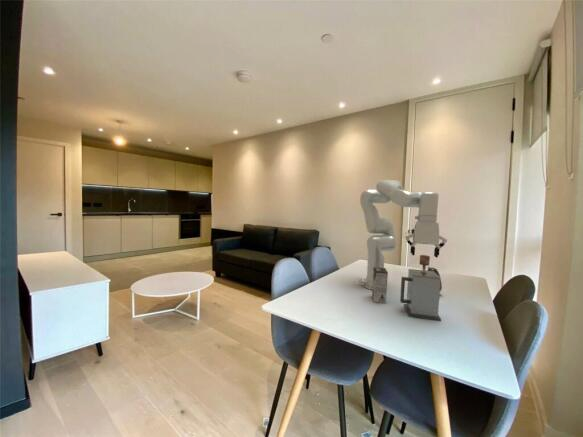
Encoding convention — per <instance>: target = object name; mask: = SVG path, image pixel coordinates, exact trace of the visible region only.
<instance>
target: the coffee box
mask: <svg viewBox="0 0 583 437" xmlns="http://www.w3.org/2000/svg"><path fill="white" fill-rule="evenodd" d="M388 276H389V274H388V271H387V268H385V267H384V268H375V267H374V268H373V287H372V290H371V292H372V293H371V297H372V301H373V303H381V304H386V303H387V290H388V278H389V277H388Z"/></svg>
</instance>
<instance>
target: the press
mask: <svg viewBox="0 0 583 437" xmlns="http://www.w3.org/2000/svg"><path fill="white" fill-rule="evenodd" d="M422 270H423V269H415V268H414V269H413V268H408V272H407V274H408V275H407V276H401V282H400V298H399V299H400V300H399V302H400V303H401V304H403V308H404V309H405V311H406V314H407V316H408V318H413V319H414V318H415V319H421V320H422V319H423V320H430V321H437V322H438V321H439V322H441V321H442V319H441V317H440V315H439V306H440V293H441V292H440V280H441V281H442V279H441V276H440V277H439V276H438V275H437V274H436V273H435V272H434V271H427V270H426V269H425V274H422ZM406 282H407V291H406V298H405V289H406V288H405V286H406V285H405V284H406Z"/></svg>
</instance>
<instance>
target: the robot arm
mask: <svg viewBox="0 0 583 437" xmlns="http://www.w3.org/2000/svg"><path fill="white" fill-rule="evenodd" d="M390 201H391V202H392V203H394V204H395V205H397V206H399V207H403V208H418V213H417V215H414V219H415V220H416V221H415V224H414V229H413V233H411V234H409V235H405V237H404V238H405V240H406V242H407V243H408V244H409V246H410V254H411V256H415V252H416V247H415V246H416V245H417V244H420V245H431V246H432V245H434V246H435V247H434V253H433V257H434V258H438V257H439V256H440V251H441V250H440V249H441V248H442V247H444V246H445V244H446V243H447V242H448V239H447V238H445V237H443V236H441V235H440V226H439V222H437V220H438V206H439V193H438V192H436V191H433V192H432V191H408V190H405V187H404V186H403V185H402V183H401V182H400V181H399V180H393V179H381V180H379V181H378V182H377V183H376V186H375V189H373V188H369V189H365V190H363V191H362V192H361V193H360V197H359V203H360V206H361V209H362V211H363V214H364V221H365V225H366V226H365V227H366V229H367V232H368V233H369V234H372V235H371V236H369V237H367V240H366V247H367V248H366V249H367V266H366V268H367V269H366V270H367V271H366V278H364V279H362V278H359V279H358V282H359V283H361V284H363V286H364V287H363V288H366V289H369V290H371V291H372V287H373V268H374V267H375V268H385V257H384V255H383V253H382V252H390V251H394V250H395V249H396V248H397V239H396V234H395V229H394V224H393V222H392V221H391V220H390V219H388V218H381V217H380V214H379V210H378V209H377V207H376V206H375V205H374V204H387V203H390ZM410 239H412V241H411V240H410ZM440 240H441V242H440Z"/></svg>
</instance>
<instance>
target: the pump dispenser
mask: <svg viewBox="0 0 583 437" xmlns="http://www.w3.org/2000/svg"><path fill="white" fill-rule="evenodd" d="M426 271H434V272H435V273H436V274H437V275H438V276H439V277H441V275H440V273H439V271H438V269H437V268H435V267H431V266H428V267H427V270H426ZM442 285H443V284H442V279H441V280H440V293H441V291H442V290H443V286H442Z"/></svg>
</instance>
